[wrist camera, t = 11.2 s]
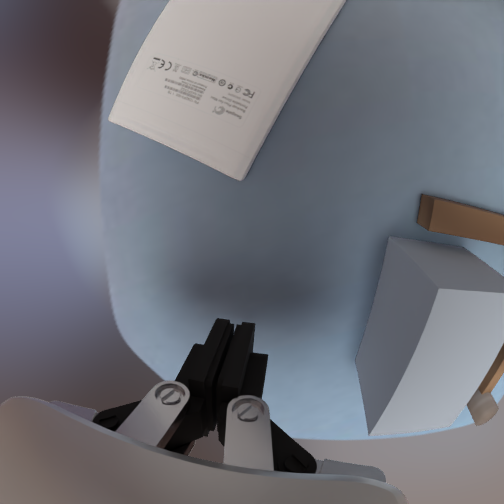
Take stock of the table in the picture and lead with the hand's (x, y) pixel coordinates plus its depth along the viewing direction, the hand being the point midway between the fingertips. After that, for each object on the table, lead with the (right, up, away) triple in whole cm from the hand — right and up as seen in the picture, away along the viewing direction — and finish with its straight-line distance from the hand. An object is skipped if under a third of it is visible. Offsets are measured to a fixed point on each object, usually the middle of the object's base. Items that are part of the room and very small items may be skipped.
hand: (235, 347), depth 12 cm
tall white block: (+10, +1, +2) cm, 10 cm away
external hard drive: (0, +15, 0) cm, 15 cm away
